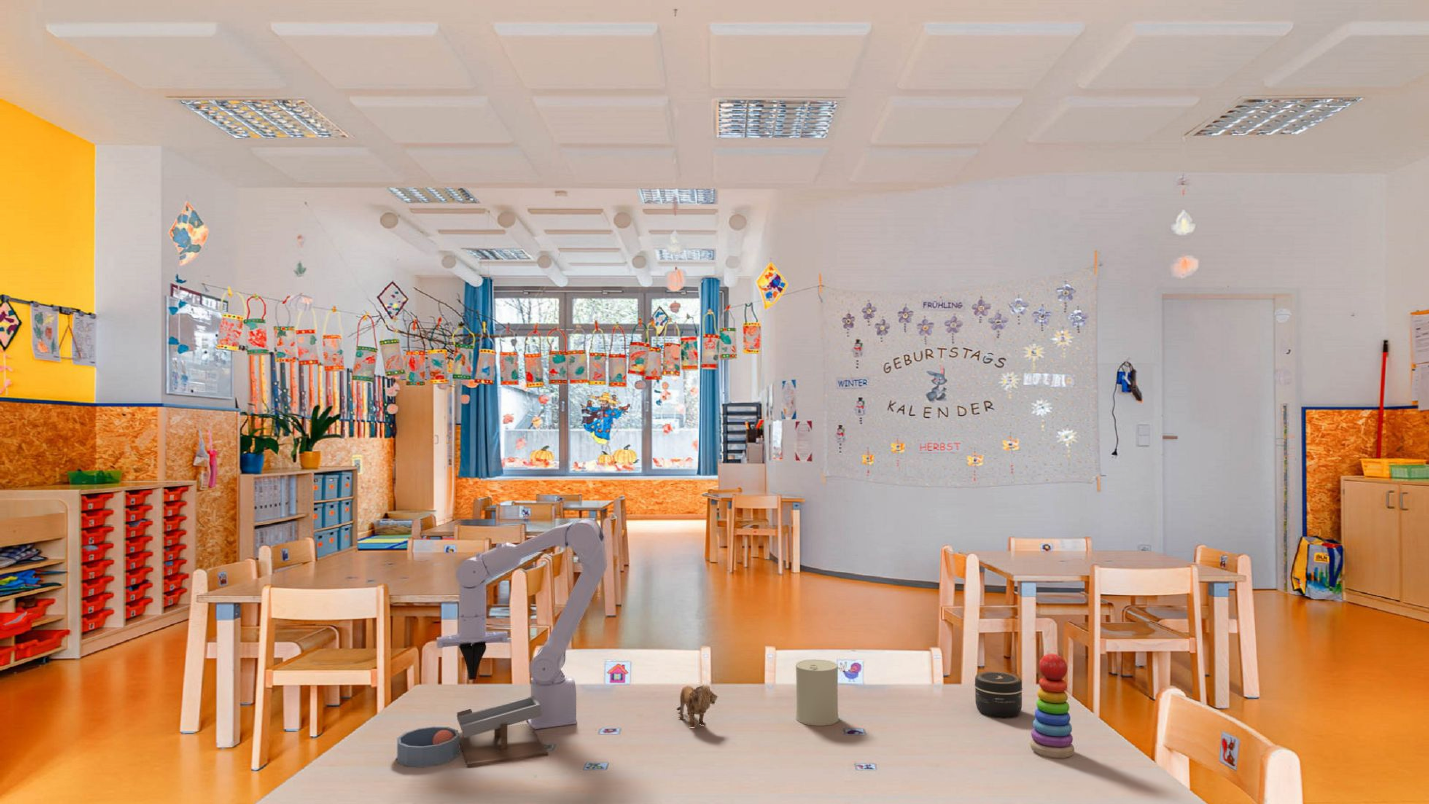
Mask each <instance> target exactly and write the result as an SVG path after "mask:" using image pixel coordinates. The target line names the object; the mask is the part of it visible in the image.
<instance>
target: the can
mask: <svg viewBox="0 0 1429 804" xmlns="http://www.w3.org/2000/svg"><path fill="white" fill-rule="evenodd" d="M838 668H839V666H838V663H836V662H834V661H832V660H831V661H830V660H825V659H805V660H801V661H798V662H796V664H795V675H796V676H795V678H796V680H795V681H796V708H795V709H796V712H795V720H796V721H797V722H799V723H800V724H803V725H807V726H808V725H809V726H813V727H823V726H824V727H826V726H831V725H834V724H836V723H837V722H839V720H840V719H839V707H838V706H839V705H838V704H839V702H838V701H839V699H838V695H839V694H838V690H839V689H838V683H839V682H838V679H839V677H838V675H839V673H838V670H839V669H838Z"/></svg>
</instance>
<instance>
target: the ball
mask: <svg viewBox="0 0 1429 804" xmlns="http://www.w3.org/2000/svg"><path fill="white" fill-rule="evenodd" d="M452 738H454V736H453V734H452V733H451V732H450V731H448V730H441V731H439V732H438V733H436V734H435V736H434V738H433V745H437V744H441V743H444V742H447V741H449V740H451V739H452Z"/></svg>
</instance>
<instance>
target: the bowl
mask: <svg viewBox="0 0 1429 804" xmlns="http://www.w3.org/2000/svg"><path fill="white" fill-rule="evenodd" d="M441 730H448V731H450V732H451V733H452V734H453V736H454V738H452V739H451V740H449V741H447V742H444V743H441V744H437V745H433V738H434V736H435V734H436V733H438V732H439V731H441ZM459 733H460V732H459V730H458V729H455V728H452V727H449V726H428V727H422V728H421V727H420V728H416V729H413V730H410V731H406V732H403V733H402V734H401V735H400V736H398V737H397V738H396V759H397V764H399V765H402V766H404V767H407V768H409V767H410V768H411V767H412V768H427V767H434V766H440V765H443V764H444V763H447V762H451V761H453V760H454V759H456V758H457V757H458V756H460V745H459Z"/></svg>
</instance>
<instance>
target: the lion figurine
mask: <svg viewBox="0 0 1429 804" xmlns="http://www.w3.org/2000/svg"><path fill="white" fill-rule="evenodd" d="M718 697H719V696H718V695H716V694H715V693H714V692H713V691H712V690H711V688H710V686H709V685H703V684H702V685H699V686H697V687H696V688H693V687H692V686H689V685H686V686H684V687H682V689H681V692H680V694H679V702H680V703H679V704H680V706H679V707H677V708H676V710H677V711H679V716H678V719H679V718H680V719H679V720H683V719H682V718H684V719H685V717H684V711H685V710H684V708H685V707H686V713H687V714H688V713H689V714H688V715H689V727H695V728H696V722H695V715H699V717H698V724H701V725H705V726H706V725H707V724H706V722H704V721H703V720H704V716H705V714H706V712H707V710H709V709H710V707H711V705H713V706H714V705H715V704H716V701H717V698H718Z"/></svg>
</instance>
